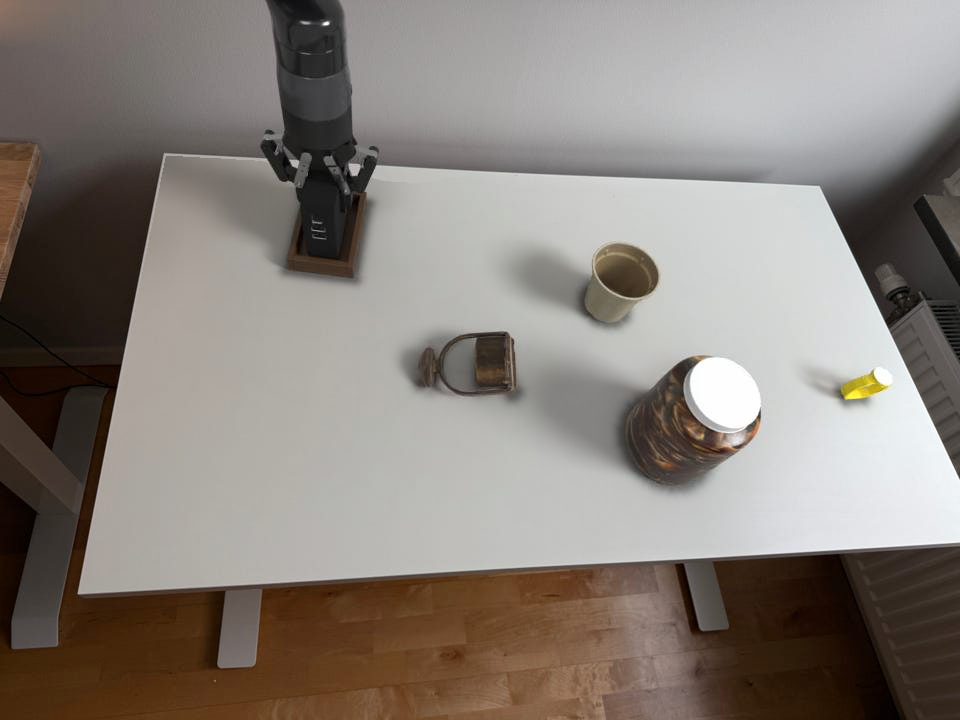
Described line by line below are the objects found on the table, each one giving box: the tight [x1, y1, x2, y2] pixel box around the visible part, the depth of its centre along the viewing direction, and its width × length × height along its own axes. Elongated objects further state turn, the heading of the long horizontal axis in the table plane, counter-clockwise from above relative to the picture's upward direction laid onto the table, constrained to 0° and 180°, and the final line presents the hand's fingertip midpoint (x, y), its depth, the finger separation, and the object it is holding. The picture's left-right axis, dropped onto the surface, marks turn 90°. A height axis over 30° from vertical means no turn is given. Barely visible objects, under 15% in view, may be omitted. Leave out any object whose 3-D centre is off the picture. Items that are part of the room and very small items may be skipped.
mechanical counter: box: [418, 330, 517, 397], centre depth 75 cm, size 7×13×10 cm
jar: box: [623, 354, 762, 487], centre depth 71 cm, size 12×12×15 cm
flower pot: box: [583, 241, 662, 324], centre depth 83 cm, size 9×9×9 cm
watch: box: [839, 366, 894, 401], centre depth 83 cm, size 6×3×6 cm, turn 99°
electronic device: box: [299, 169, 348, 259], centre depth 80 cm, size 4×10×10 cm, turn 178°
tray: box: [286, 191, 368, 279], centre depth 84 cm, size 9×14×2 cm, turn 177°
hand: (325, 204), depth 79 cm, fingers closed on electronic device, 4 cm apart
